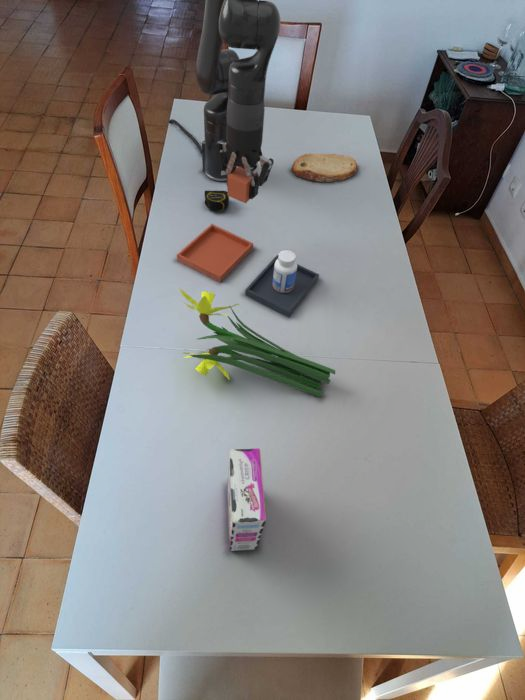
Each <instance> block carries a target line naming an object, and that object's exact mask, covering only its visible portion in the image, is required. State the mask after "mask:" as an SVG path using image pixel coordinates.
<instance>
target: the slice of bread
mask: <svg viewBox="0 0 525 700" xmlns="http://www.w3.org/2000/svg"><path fill="white" fill-rule="evenodd" d="M290 171H291V173H292V174H293V175H294V176H295V177H297V178H303V179H306V180H308V181H310V182H317V183H318V182H319V183H320V182H321V183H332V182H336V181H339V182H340V181H344V180H347V179H350V178H352V177H353V176H354V175H356V173H357V171H358V163H357V161H356V159H354V158H353V157H351V156H348V155H343V154H334V153H333V154H332V153H305V154H302V155H301V156H299V157H298V158H296V159H295V160H294V162H293V163H292V166H291V169H290Z"/></svg>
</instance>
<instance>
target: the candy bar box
mask: <svg viewBox="0 0 525 700" xmlns="http://www.w3.org/2000/svg"><path fill="white" fill-rule="evenodd" d="M228 458H229V459H228V472H227V486H226V489H227V490H226V491H227V493H226V495H227V524H228V547H229V551H230V552H238V551H239V552H240V551H254V550H255V551H256V550H258V547H259V544H260V540H261V537H262V534H263V531H264V529H265V525H266V522H267V512H266V504H265V493H264V482H263V469H262V457H261V448H258V447H257V448H232V449H229V457H228Z"/></svg>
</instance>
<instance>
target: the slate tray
mask: <svg viewBox="0 0 525 700" xmlns="http://www.w3.org/2000/svg"><path fill="white" fill-rule="evenodd" d="M278 255H279V254H276V256H275V257H274V258H273V259H271V261H269V263H268V265H267V266H266V267H265V268H264V269H263V270H262V271H261V272H260V273H259V274H258V275H257V276H256V277H255V279H253V280H252V281H251V283H250V284H249V285H248V286H247V287H246V288H245V289H244V291H245V293H244V296H245V297H248V298H250V299H252V300H254V301H256V302H257V303H259V304H262V305H263V306H265V307H267V308H269V309H271V310H273V311H275V312H277V313H279V314H281V315H283V316H285V317H287V318H289V317H290V316H291V315H292V314H293V313H294V311H295V310H296V309H297V307H298V306H299V305H300V304H301V302H302V301H303V300H304V299H305V297H306V296H307V295H308V293H309V292H311V290H312V288H313V287H314V286H315V284H316V283H317V282H318V281H319V278H320V277H319V276H320V274H319V273H317V272H315V271H313V270H311V269H309V268H306V267H305V266H302V265H301V264H298V263H297V272H296V278H295V284H294V288H293V289H292V290H291V291H290V292H288V293H281V292H278V291H276V290H275V289H274V287H273V274H274V265H275V261H276V260H277V259H278Z"/></svg>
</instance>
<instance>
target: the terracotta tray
mask: <svg viewBox="0 0 525 700" xmlns="http://www.w3.org/2000/svg"><path fill="white" fill-rule="evenodd" d="M253 249H254V242H251V241H249V240H247V239H246V238H244V237H241V236H239V235H236V234H234V233H232V232H230V231H229V230H226V229H223V228H222V227H220V226H218V225H216V224H213V223H211V224H210V225H209V226H207V228H205V229H204V230H203V231H202V232H200V234H199V235H198V236H197V237H195V238H194V239H193V240H191V242H190V243H188V244H187V245H186V246H185V247H184V248H183V249H181V250H180V251H179V252H178V253H177V254H176V260H177V262H179V263H181V264H183V265H185V266H187V267H189V268H191V269H193V270H195V271H197V272H199V273H200V274H202V275H204V276H206V277H208V278H210V279H212V280H214V281H216V282H218V283H221V282H223V280H224V279H225V278H227V276H228V275H229V274H230V273H231V272H232V271H233V270H234V269H235V268H237V266H238V265H239V264H240V263H241V262H242V261H243V260H244V259H245V258H246V257H247V256H248V255H249V254H250V253H251V252H252V251H253Z"/></svg>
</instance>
